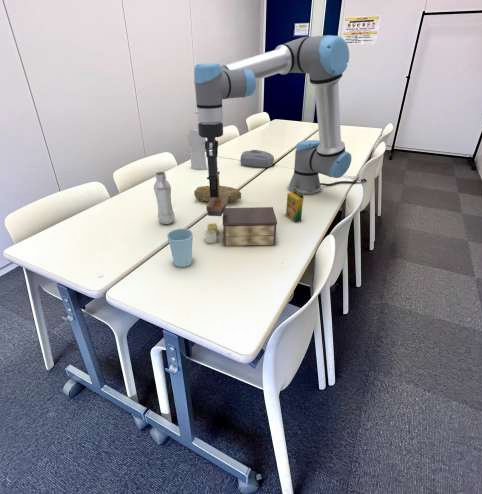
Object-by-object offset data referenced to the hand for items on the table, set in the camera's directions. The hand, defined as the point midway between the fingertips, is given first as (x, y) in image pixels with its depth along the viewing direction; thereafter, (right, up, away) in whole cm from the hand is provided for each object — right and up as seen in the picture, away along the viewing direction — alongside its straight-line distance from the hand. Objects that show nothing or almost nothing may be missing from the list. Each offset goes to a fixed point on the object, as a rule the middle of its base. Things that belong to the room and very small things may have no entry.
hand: (214, 195), depth 109 cm
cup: (-10, -23, -5) cm, 25 cm away
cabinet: (+12, -14, +9) cm, 20 cm away
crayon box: (+30, -6, +22) cm, 38 cm away
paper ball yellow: (-2, -10, +10) cm, 14 cm away
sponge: (-1, +3, +38) cm, 38 cm away
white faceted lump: (-2, -13, +5) cm, 14 cm away
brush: (+1, -5, +3) cm, 5 cm away
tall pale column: (-15, +28, +78) cm, 85 cm away
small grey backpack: (+19, +32, +84) cm, 92 cm away
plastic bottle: (-20, -8, +19) cm, 29 cm away
